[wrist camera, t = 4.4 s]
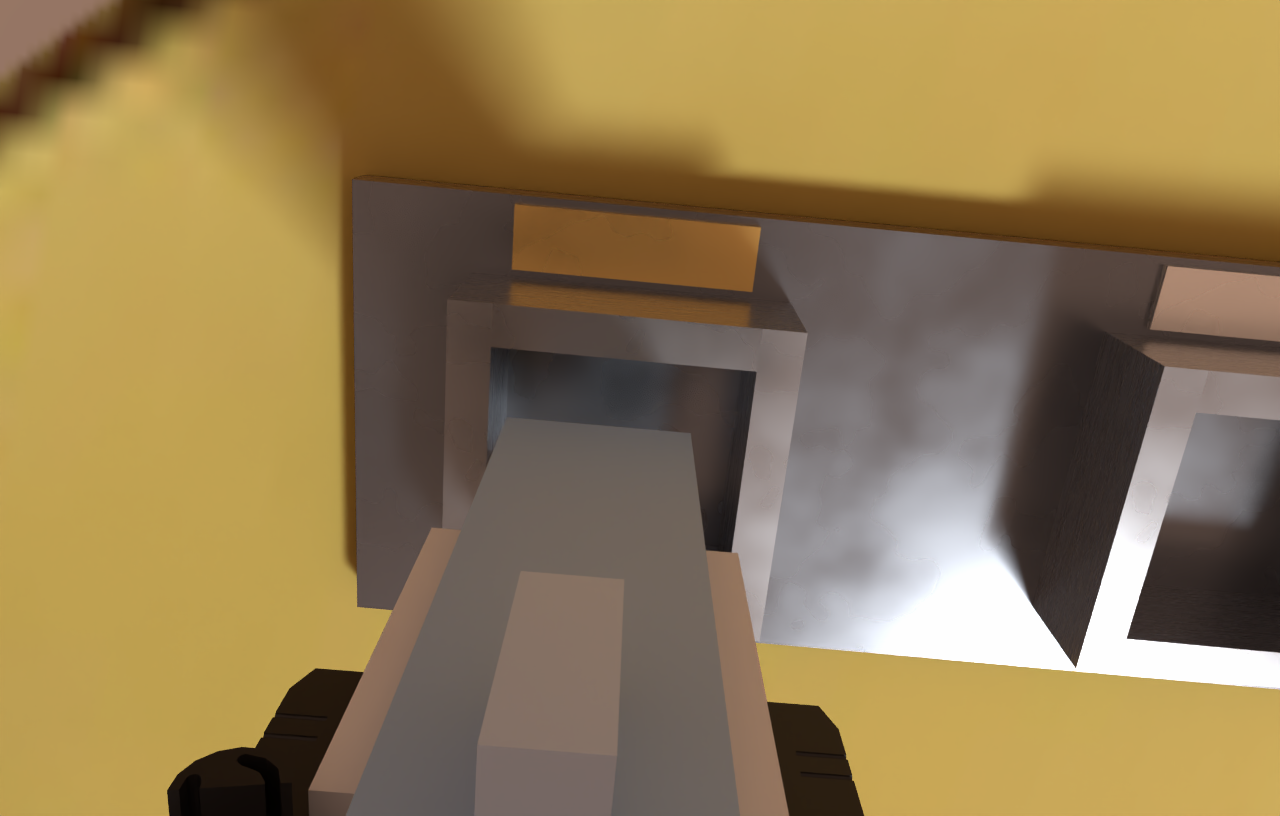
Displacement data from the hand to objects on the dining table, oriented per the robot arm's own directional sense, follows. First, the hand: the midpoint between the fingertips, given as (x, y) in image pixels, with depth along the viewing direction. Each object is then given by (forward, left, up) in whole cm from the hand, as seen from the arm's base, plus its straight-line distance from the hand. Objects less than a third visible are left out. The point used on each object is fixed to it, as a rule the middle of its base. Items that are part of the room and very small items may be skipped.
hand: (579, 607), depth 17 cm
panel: (+8, 0, -9) cm, 13 cm away
